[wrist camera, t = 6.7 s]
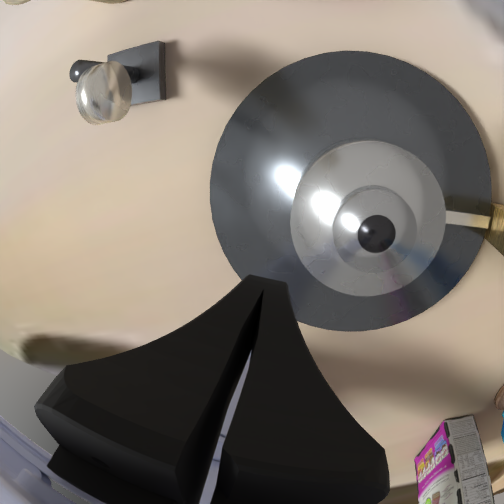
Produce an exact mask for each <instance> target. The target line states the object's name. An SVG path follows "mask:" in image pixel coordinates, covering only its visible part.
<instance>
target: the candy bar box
mask: <svg viewBox="0 0 504 504" xmlns="http://www.w3.org/2000/svg"><path fill="white" fill-rule="evenodd" d="M414 461H415V469H416V478H417V488H418V501H419V504H494V497H493V491H492V485H491V481H490V476H489V472H488V467H487V462H486V458H485V455H484V450H483V446H482V443H481V439H480V435H479V432H478V429H477V425H476V422H475V419H474V416H473V415H468V416H463V417H459V418H454V419H448V420H444V421H443V422H442V423H441V425H440V426H439V428H438V429H437V430H436V432H435V433H434V435H433V436H432V437H431V439H430V440H429V441H428V443H427V444H426V445H425V447H424V448H423V449H422V450H421V452H420V453H419V454H418V455H417V457H416V458H415V459H414Z"/></svg>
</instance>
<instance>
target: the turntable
mask: <svg viewBox="0 0 504 504" xmlns="http://www.w3.org/2000/svg"><path fill="white" fill-rule="evenodd" d="M356 137H367V138H373V139H378V140H381V141H385V142H387V143H390V144H393V145H395V146H398V147H400V148H402V149H404V150H406V151H408V152H410V153H412V154H413V155H415V156H416V157H417V158H419V159H420V160H421V161H422V162H423V163H424V164H425V165H426V166H427V167H428V168H429V170H430V171H431V172H432V173H433V175H434V177H435V178H436V180H437V182H438V184H439V186H440V188H441V191H442V194H443V197H444V201H445V208H446V224H445V231H444V235H443V239H442V242H441V245H440V247H439V250H438V252H437V253H436V255H435V257H434V259H433V260H432V262H431V263H430V264H429V266H428V267H427V268H426V269H425V270H424V271H423V272H422V273H421V274H420V275H419V276H418V277H417V278H416V279H414V280H413V281H412V282H410V283H409V284H407V285H405V286H403V287H402V288H400V289H397V290H395V291H392V292H389V293H386V294H382V295H376V296H354V295H349V294H344V293H341V292H339V291H336V290H334V289H332V288H330V287H327V286H326V285H324V284H323V283H321V282H320V281H319V280H317V279H316V278H315V277H314V276H313V275H312V274H311V273H310V272H309V271H308V270H307V269H306V268H305V266H304V265H303V263H302V262H301V260H300V258H299V256H298V254H297V252H296V250H295V247H294V244H293V240H292V235H291V227H290V218H291V209H292V204H293V200H294V195H295V191H296V187H297V184H298V181H299V178H300V176H301V174H302V172H303V170H304V169H305V167H306V166H307V165H308V163H309V162H310V161H311V160H312V159H313V158H314V156H315V155H317V154H318V153H319V152H320V151H321V150H323V149H324V148H326V147H328V146H329V145H331V144H334V143H336V142H338V141H341V140H345V139H349V138H356ZM491 188H492V187H491V176H490V168H489V164H488V159H487V155H486V151H485V148H484V146H483V143H482V140H481V138H480V135H479V133H478V131H477V129H476V127H475V125H474V124H473V122H472V120H471V118H470V116H469V115H468V114H467V112H466V111H465V109H464V108H463V107H462V105H461V104H460V103H459V102H458V100H457V99H456V98H455V97H454V96H453V95H452V94H451V93H450V92H449V91H448V90H447V89H446V88H445V87H444V86H443V85H442V84H440V83H439V82H438V81H436V80H435V79H434V78H432V77H431V76H430V75H428V74H427V73H425V72H424V71H422V70H420V69H418V68H416V67H414V66H413V65H411V64H409V63H406V62H404V61H401V60H398V59H396V58H393V57H390V56H386V55H381V54H377V53H371V52H363V51H339V52H329V53H323V54H319V55H315V56H312V57H308V58H304V59H302V60H300V61H297V62H295V63H293V64H290V65H288V66H286V67H284V68H282V69H281V70H279V71H277V72H276V73H274V74H273V75H271V76H270V77H268V78H267V79H265V80H264V81H263V82H262V83H261V84H260V85H258V86H257V87H256V88H255V89H254V90H253V91H252V92H250V94H249V95H248V96H247V97H246V98H245V99H244V101H243V102H242V103H241V104H240V105H239V106H238V108H237V109H236V111H235V112H234V114H233V115H232V117H231V119H230V120H229V122H228V123H227V125H226V127H225V129H224V132H223V134H222V136H221V138H220V141H219V143H218V146H217V149H216V153H215V156H214V160H213V164H212V171H211V179H210V204H211V211H212V219H213V223H214V226H215V230H216V234H217V237H218V240H219V242H220V244H221V247H222V249H223V252H224V254H225V256H226V257H227V259H228V261H229V262H230V264H231V266H232V268H233V269H234V271H235V272H236V273H237V274H238V276H239V277H240V278H241V280H243V279H244V278H245V277H246V276H247V275H249V274H251V275H255V276H260V277H265V278H269V279H274V280H278V281H283V282H286V283H287V285H288V288H289V295H290V300H291V304H292V308H293V311H294V314H295V317H296V320H297V321H299V322H302V323H305V324H307V325H310V326H314V327H318V328H323V329H327V330H336V331H367V330H375V329H380V328H384V327H388V326H392V325H395V324H398V323H401V322H403V321H406V320H408V319H410V318H412V317H414V316H416V315H418V314H420V313H422V312H424V311H425V310H427V309H428V308H430V307H431V306H433V305H434V304H436V303H437V302H438V301H439V300H441V299H442V298H443V297H444V296H445V295H447V294H448V293H449V292H450V291H451V290H452V289H453V288H454V286H455V285H456V284H457V283H458V282H459V281H460V280H461V278H462V277H463V276H464V274H465V273H466V272H467V270H468V269H469V267H470V266H471V264H472V262H473V260H474V259H475V257H476V255H477V253H478V251H479V249H480V246H481V244H482V241H483V239H484V238H485V239H486V240H488V241H489V242H490V243H491V244H492V245H493V246H494V247H495V248H496V249H497V250H498V251H499V252H500V253H501V254H502V255H503V256H504V205H501V204H495V203H491Z"/></svg>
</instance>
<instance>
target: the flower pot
mask: <svg viewBox="0 0 504 504" xmlns="http://www.w3.org/2000/svg"><path fill="white" fill-rule="evenodd" d="M3 1H4V2H5V3H6V4H10V5H19V4H23V3H26V2H28V1H30V0H3ZM91 1H97V2H103V3H110V4H114V3H120V2H123V1H126V0H91Z"/></svg>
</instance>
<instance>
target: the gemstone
mask: <svg viewBox="0 0 504 504" xmlns="http://www.w3.org/2000/svg"><path fill="white" fill-rule="evenodd" d="M495 405H496V408H497V409H500V410H504V385H503V386H502V388H501V389H500V390H499V392H498V393H497V395H496V398H495ZM502 416H503V418H504V411H503V413H502ZM501 436H502V439H503V442H504V419H503V425H502V431H501Z"/></svg>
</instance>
